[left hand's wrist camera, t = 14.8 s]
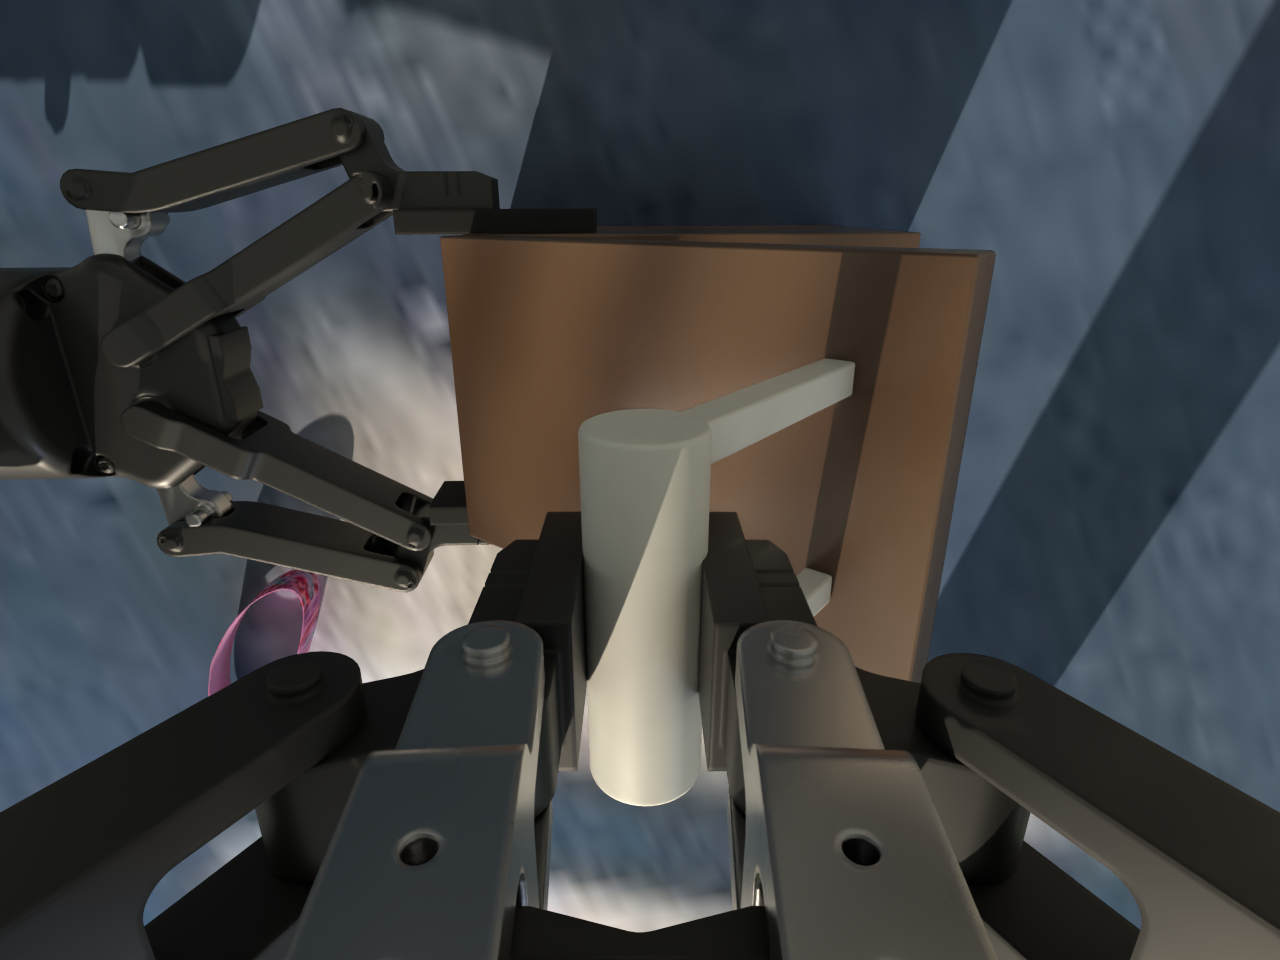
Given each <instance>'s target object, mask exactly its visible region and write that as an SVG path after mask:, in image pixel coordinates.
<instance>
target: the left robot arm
mask: <svg viewBox="0 0 1280 960" xmlns="http://www.w3.org/2000/svg"><path fill="white" fill-rule="evenodd" d="M586 686H587V659H586V630H585V600H584V571H583V551H582V524H581V512H547V514H546V517H545V521H544V524H543V527H542V531H541V534H540V537H539V539H516V540H514V541H513V542H512V543H511V544H509V545H508V546H507V547H505V548H504V549H503V550H501V551H500V552H499V553H497V556H496V558H495V561H494V563H493V565H492V568H491V573H489V575H488V578H487V580H486V582H485V587H483V590H482V592H481V594H480V597H479V599H478V602H477V604H476V607H475V609H474V611H473V614H472V616H471V619H470V621H469V623H468V625H465V626H462V627H460V628H457V629H455V630H453V631H451V632H449V633H448V634H446V635H445V636H443V637H442V638H441V639H440V640H439V641H438V642H437V643H436V644H435V645H434V646H433V648H432V650H431V652H430V655H429V657H428V660H427V663H426V666H425V668H424V669H423V670H420V671H417V672H414V673H411V674H406V675H402V676H398V677H393V678H388V679H383V680H378V681H373V682H368V683H363V684H362V678H361V672H360V668H359V666H358V664H357V663H356V662H355V661H354V660H353V659H352V658H350V657H348V656H346V655H343V654H340V653H334V652H323V651H320V652H308V653H301V654H296V655H292V656H288V657H285V658H282V659H279V660H276V661H274V662H271V663H269V664H267V665H265V666H263V667H261V668H259V669H257V670H255V671H253V672H252V673H250V674H248V675H246V676H244V677H243V678H241V679H239V680H237V681H235V682H234V683H232V684H230V685H228V686H227V687H225V688H223V689H221V690H219V691H218V692H216V693H214V694H212V695H210V696H209V697H207V698H205V699H203V700H201V701H200V702H198V703H196V704H194V705H192V706H191V707H189V708H187V709H185V710H183V711H182V712H180V713H178V714H176V715H174V716H173V717H171V718H169V719H167V720H166V721H164V722H162V723H160V724H158V725H157V726H155V727H153V728H151V729H149V730H148V731H146V732H144V733H142V734H140V735H139V736H137V737H135V738H133V739H131V740H130V741H128V742H126V743H124V744H122V745H121V746H119V747H117V748H115V749H113V750H112V751H110V752H108V753H106V754H105V755H103V756H101V757H99V758H97V759H96V760H94V761H92V762H90V763H88V764H87V765H85V766H83V767H81V768H79V769H78V770H76V771H74V772H72V773H70V774H69V775H67V776H65V777H63V778H61V779H60V780H58V781H56V782H54V783H52V784H51V785H49V786H47V787H45V788H44V789H42V790H40V791H38V792H36V793H35V794H33V795H31V796H29V797H27V798H26V799H24V800H22V801H20V802H18V803H17V804H15V805H13V806H11V807H9V808H8V809H6V810H4V811H2V812H0V960H1280V812H1278V811H1276V810H1274V809H1272V808H1271V807H1269V806H1267V805H1265V804H1263V803H1262V802H1260V801H1258V800H1256V799H1254V798H1253V797H1251V796H1249V795H1247V794H1245V793H1244V792H1242V791H1240V790H1238V789H1237V788H1235V787H1233V786H1231V785H1229V784H1228V783H1226V782H1224V781H1222V780H1220V779H1219V778H1217V777H1215V776H1213V775H1211V774H1210V773H1208V772H1206V771H1204V770H1202V769H1201V768H1199V767H1197V766H1195V765H1193V764H1192V763H1190V762H1188V761H1186V760H1184V759H1183V758H1181V757H1179V756H1177V755H1176V754H1174V753H1172V752H1170V751H1168V750H1167V749H1165V748H1163V747H1161V746H1159V745H1158V744H1156V743H1154V742H1152V741H1150V740H1149V739H1147V738H1145V737H1143V736H1141V735H1140V734H1138V733H1136V732H1134V731H1132V730H1131V729H1129V728H1127V727H1125V726H1123V725H1122V724H1120V723H1118V722H1116V721H1115V720H1113V719H1111V718H1109V717H1107V716H1106V715H1104V714H1102V713H1100V712H1098V711H1097V710H1095V709H1093V708H1091V707H1089V706H1088V705H1086V704H1084V703H1082V702H1080V701H1079V700H1077V699H1075V698H1073V697H1071V696H1070V695H1068V694H1066V693H1064V692H1062V691H1061V690H1059V689H1057V688H1055V687H1054V686H1052V685H1050V684H1048V683H1046V682H1045V681H1043V680H1041V679H1039V678H1037V677H1036V676H1034V675H1032V674H1030V673H1028V672H1027V671H1025V670H1023V669H1021V668H1019V667H1017V666H1015V665H1013V664H1010V663H1008V662H1005V661H1002V660H999V659H996V658H993V657H988V656H984V655H978V654H971V653H952V654H946V655H942V656H939V657H936V658H934V659H932V660H930V661H929V662H928V663H927V664H926V665H925V667H924V669H923V672H922V678H921V683H917V682H912V681H907V680H902V679H897V678H892V677H887V676H882V675H878V674H874V673H871V672H868V671H865V670H862V669H860V668H858V667H855V665H854V663H853V660H852V657H851V654H850V652H849V650H848V648H847V646H846V645H845V644H844V643H843V641H841V640H840V639H839V638H838V637H837V636H835V635H834V634H832V633H831V632H829V631H827V630H825V629H823V628H820V627H818V626H817V624H816V622H815V619H814V617H813V614H812V612H811V610H810V607H809V605H808V603H807V600H806V598H805V596H804V593H803V591H802V589H801V587H799V582H798V579H797V577H796V575H795V573H794V570H793V568H792V565H791V563H790V560H789V558H788V556H787V554H786V553H785V552H784V551H782V550H781V549H780V548H779V547H777V546H776V545H775V544H773V543H772V542H771V541H769V540H745V537H744V534H743V530H742V527H741V524H740V521H739V518H738V515H737V512H709V534H708V553H707V555H706V557H705V559H704V560H703V572H702V600H701V629H700V658H699V686H698V694H699V703H700V711H701V719H702V728H703V736H704V745H705V753H706V762H707V770H708V771H727V776H728V782H729V796H728V814H727V822H728V838H729V854H730V871H731V887H732V903H733V911H729V912H725V913H721V914H717V915H713V916H709V917H705V918H702V919H698V920H694V921H690V922H686V923H682V924H678V925H674V926H670V927H666V928H662V929H659V930H655V931H650V932H630V931H625V930H621V929H618V928H614V927H610V926H606V925H602V924H598V923H594V922H590V921H586V920H582V919H578V918H575V917H571V916H567V915H563V914H559V913H555V912H551V911H547V904H548V888H549V872H550V856H551V839H552V823H553V812H552V798H553V796H554V793H555V789H556V783H557V776H558V771H577V768H578V759H579V750H580V741H581V731H582V722H583V713H584V704H585V695H586ZM253 809H255V810H256V814H257V818H258V822H259V826H260V830H261V834H262V837H261V838H259V839H258V840H257V841H255V842H254V843H253V844H251V845H250V846H249V847H247V848H246V849H245V850H244V851H242V852H241V853H240V854H238V855H237V856H236V857H234V858H233V859H232V860H230V861H229V862H228V863H227V864H225V865H224V866H223V867H221V868H220V869H219V870H217V871H216V872H215V873H213V874H212V875H211V876H210V877H208V878H207V879H206V880H204V881H203V882H202V883H200V884H199V885H198V886H197V887H195V888H194V889H193V890H191V891H190V892H189V893H187V894H186V895H185V896H183V897H182V898H181V899H180V900H178V901H177V902H176V903H174V904H173V905H172V906H170V907H169V908H168V909H166V910H165V911H164V912H163V913H161V914H160V915H159V916H157V917H156V918H155V919H153V920H152V921H151V922H149V923H148V924H147V925H146V926H144V924H143V912H144V908H145V905H146V902H147V900H148V898H149V896H150V894H151V892H152V891H153V889H154V888H155V886H156V885H157V884H158V882H159V881H160V880H161V879H162V878H163V877H164V876H165V875H166V874H167V873H168V872H169V871H170V870H171V869H172V868H174V867H175V866H176V865H177V864H179V863H180V862H181V861H183V860H184V859H186V858H187V857H188V856H190V855H191V854H193V853H194V852H195V851H197V850H198V849H199V848H201V847H202V846H204V845H205V844H206V843H208V842H209V841H210V840H212V839H213V838H215V837H216V836H217V835H219V834H220V833H221V832H223V831H224V830H226V829H227V828H228V827H230V826H231V825H233V824H234V823H235V822H237V821H238V820H239V819H241V818H242V817H244V816H245V815H246V814H248V813H249V812H250V811H252V810H253ZM1030 812H1031V813H1032V814H1034V815H1035V816H1036V817H1038V818H1039V819H1041V820H1042V821H1043V822H1045V823H1046V824H1047V825H1049V826H1050V827H1052V828H1053V829H1054V830H1056V831H1057V832H1059V833H1060V834H1061V835H1063V836H1064V837H1065V838H1067V839H1068V840H1070V841H1071V842H1072V843H1074V844H1075V845H1076V846H1078V847H1079V848H1081V849H1082V850H1083V851H1085V852H1086V853H1088V854H1089V855H1090V856H1092V857H1093V858H1094V859H1096V860H1097V861H1099V862H1100V863H1101V864H1103V865H1104V866H1105V867H1107V868H1108V869H1109V870H1111V871H1112V872H1113V873H1114V874H1116V875H1117V876H1118V877H1119V878H1120V879H1121V880H1122V881H1123V883H1124V884H1125V885H1126V886H1127V887H1128V889H1129V890H1130V892H1131V893H1132V895H1133V896H1134V898H1135V900H1136V902H1137V904H1138V907H1139V909H1140V913H1141V917H1142V926H1141V930H1140V929H1138V928H1137V927H1136V926H1134V925H1133V924H1132V923H1131V922H1129V921H1128V920H1127V919H1125V918H1124V917H1123V916H1121V915H1120V914H1119V913H1117V912H1116V911H1115V910H1114V909H1112V908H1111V907H1110V906H1108V905H1107V904H1106V903H1104V902H1103V901H1102V900H1100V899H1099V898H1098V897H1097V896H1095V895H1094V894H1093V893H1091V892H1090V891H1089V890H1087V889H1086V888H1085V887H1084V886H1082V885H1081V884H1080V883H1078V882H1077V881H1076V880H1074V879H1073V878H1072V877H1070V876H1069V875H1068V874H1067V873H1065V872H1064V871H1063V870H1061V869H1060V868H1059V867H1057V866H1056V865H1055V864H1053V863H1052V862H1051V861H1050V860H1048V859H1047V858H1046V857H1044V856H1043V855H1042V854H1040V853H1039V852H1038V851H1036V850H1035V849H1034V848H1033V847H1031V846H1030V845H1029V844H1027V843H1026V842H1025V841H1023V839H1024V835H1025V831H1026V828H1027V824H1028V820H1029V816H1030Z"/></svg>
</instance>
